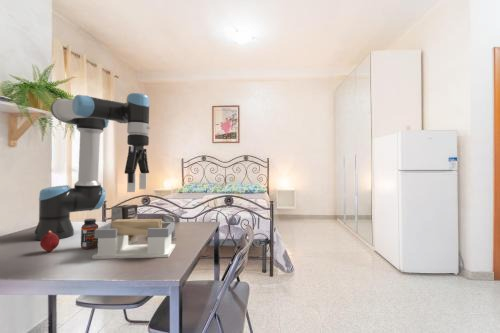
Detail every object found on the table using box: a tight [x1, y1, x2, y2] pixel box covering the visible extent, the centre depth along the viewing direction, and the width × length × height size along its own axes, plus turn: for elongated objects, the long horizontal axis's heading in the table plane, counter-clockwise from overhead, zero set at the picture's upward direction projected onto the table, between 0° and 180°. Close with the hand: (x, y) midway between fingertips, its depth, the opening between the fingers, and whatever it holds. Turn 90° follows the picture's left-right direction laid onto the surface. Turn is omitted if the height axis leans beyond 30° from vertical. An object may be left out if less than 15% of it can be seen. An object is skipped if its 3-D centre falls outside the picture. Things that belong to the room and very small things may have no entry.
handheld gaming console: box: [163, 214, 177, 241], centre depth 125 cm, size 13×9×10 cm
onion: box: [39, 231, 60, 253], centre depth 103 cm, size 6×6×8 cm
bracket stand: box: [91, 221, 176, 260], centre depth 103 cm, size 14×26×10 cm, turn 95°
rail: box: [110, 218, 163, 236], centre depth 104 cm, size 5×17×5 cm, turn 95°
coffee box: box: [110, 204, 138, 245], centre depth 115 cm, size 9×6×16 cm
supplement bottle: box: [80, 218, 99, 250], centre depth 110 cm, size 6×6×11 cm
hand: (137, 190), depth 104 cm, fingers open, 13 cm apart
